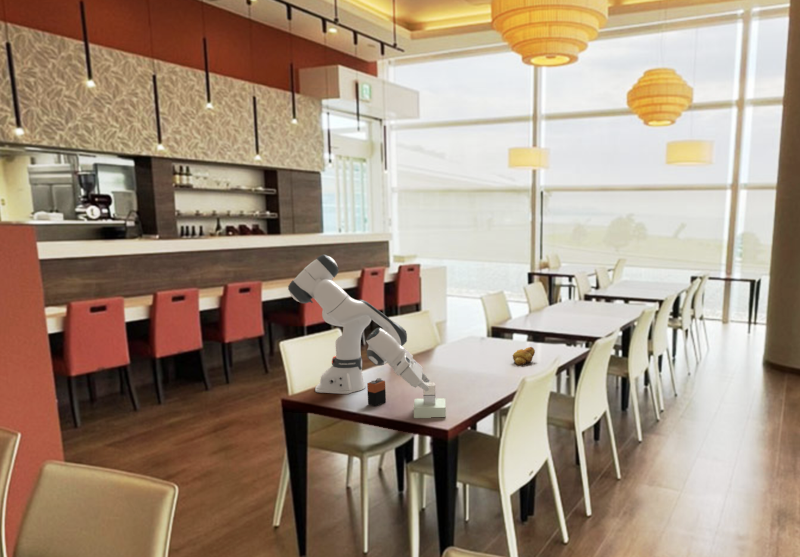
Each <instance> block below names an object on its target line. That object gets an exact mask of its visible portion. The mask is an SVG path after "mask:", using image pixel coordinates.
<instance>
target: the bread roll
mask: <svg viewBox="0 0 800 557" xmlns="http://www.w3.org/2000/svg"><path fill="white" fill-rule="evenodd" d="M535 353H536V350H535V348H534V347H532V346H528V347H526V348H524V349H523V348H521V349H517V350H516V351H514V353H513V354H512V360H513V362H514V363H515V364H516V365H526V364H530V363H531V362H532V361H533V358H534V356H535Z"/></svg>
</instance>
